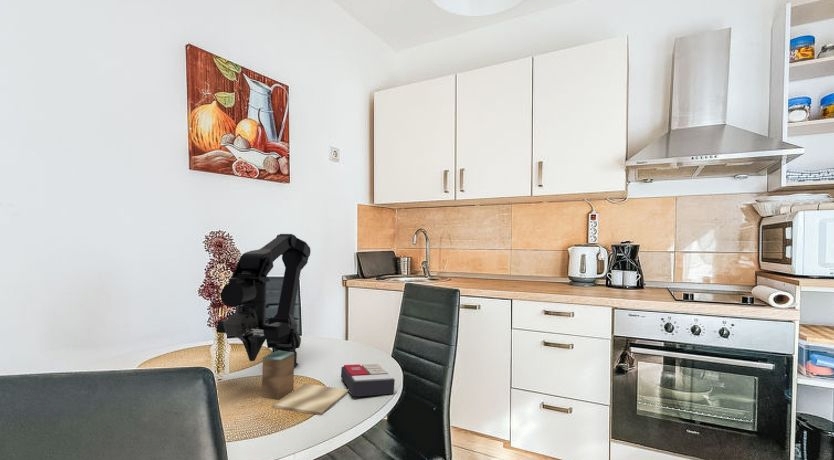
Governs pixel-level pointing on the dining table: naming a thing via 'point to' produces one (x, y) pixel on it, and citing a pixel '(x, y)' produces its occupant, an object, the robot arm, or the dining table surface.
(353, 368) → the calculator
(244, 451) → the dining table surface
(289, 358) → the walnut block
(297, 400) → the beige cloth
